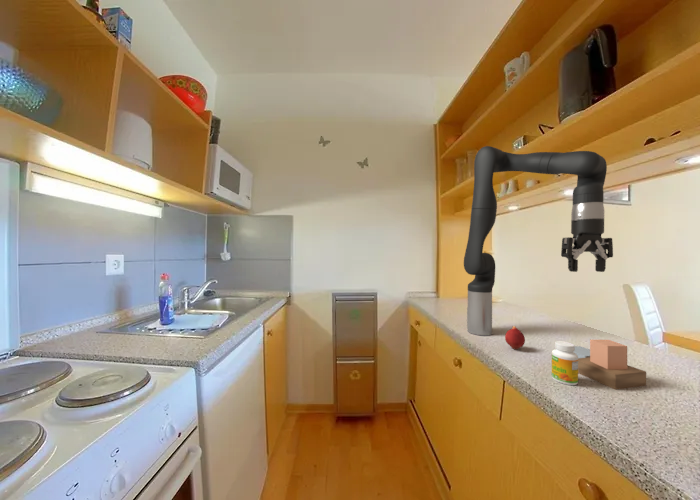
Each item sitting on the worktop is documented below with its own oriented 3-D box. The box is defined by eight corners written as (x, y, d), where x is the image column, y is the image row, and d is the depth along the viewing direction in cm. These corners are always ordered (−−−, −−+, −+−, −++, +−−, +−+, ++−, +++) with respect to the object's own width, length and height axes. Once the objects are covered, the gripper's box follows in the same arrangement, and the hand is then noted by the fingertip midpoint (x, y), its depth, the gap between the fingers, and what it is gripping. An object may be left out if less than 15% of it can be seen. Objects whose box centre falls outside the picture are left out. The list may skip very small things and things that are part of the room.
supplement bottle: (546, 377, 70) (546, 341, 70) (559, 374, 72) (559, 339, 72) (569, 387, 65) (569, 348, 65) (583, 383, 67) (583, 345, 67)
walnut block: (573, 372, 74) (573, 358, 74) (601, 370, 76) (601, 356, 76) (615, 391, 64) (615, 374, 64) (646, 387, 66) (646, 371, 66)
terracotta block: (590, 361, 73) (590, 339, 73) (608, 361, 73) (608, 339, 73) (607, 369, 68) (607, 345, 68) (627, 369, 68) (627, 346, 68)
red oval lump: (520, 346, 93) (520, 324, 93) (528, 353, 87) (528, 329, 87) (502, 345, 94) (502, 323, 94) (509, 351, 88) (509, 328, 88)
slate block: (561, 360, 82) (561, 347, 83) (579, 358, 84) (579, 346, 84) (585, 370, 76) (585, 356, 76) (604, 368, 77) (604, 354, 77)
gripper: (597, 220, 84) (596, 270, 85) (554, 219, 84) (554, 270, 84) (622, 217, 77) (621, 272, 77) (576, 216, 76) (575, 272, 76)
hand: (586, 271), depth 80 cm, fingers open, 8 cm apart
